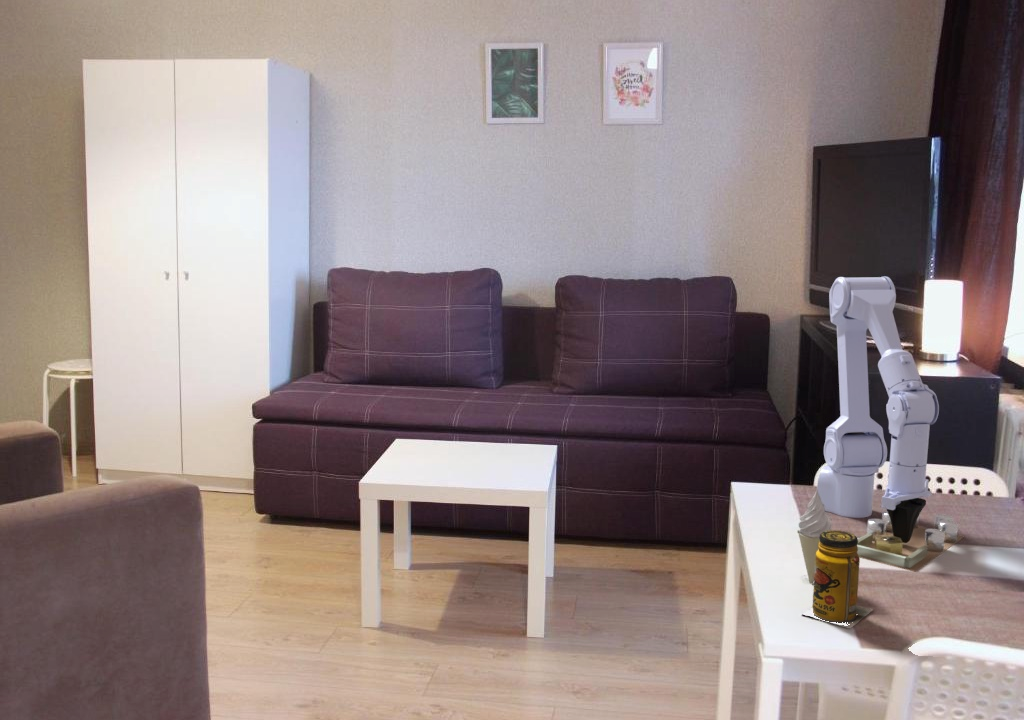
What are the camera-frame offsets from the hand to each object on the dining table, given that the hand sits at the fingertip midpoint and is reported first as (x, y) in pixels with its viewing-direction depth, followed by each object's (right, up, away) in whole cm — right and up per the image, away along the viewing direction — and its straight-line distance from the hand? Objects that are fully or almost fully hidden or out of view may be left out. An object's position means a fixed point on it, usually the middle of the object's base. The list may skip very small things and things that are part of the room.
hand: (901, 540), depth 178 cm
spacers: (+4, 0, +4) cm, 5 cm away
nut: (-4, -1, -4) cm, 6 cm away
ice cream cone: (-19, -4, -13) cm, 23 cm away
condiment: (-18, -7, -24) cm, 31 cm away
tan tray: (+1, -2, +1) cm, 2 cm away
